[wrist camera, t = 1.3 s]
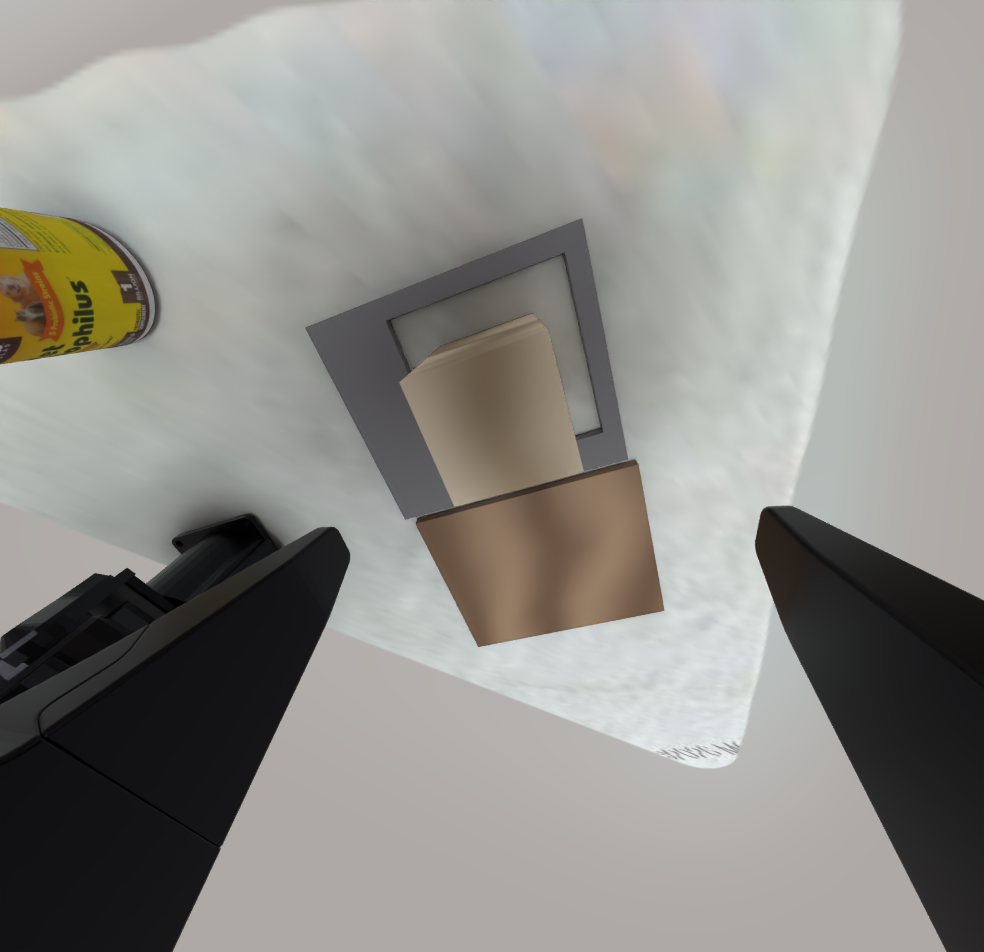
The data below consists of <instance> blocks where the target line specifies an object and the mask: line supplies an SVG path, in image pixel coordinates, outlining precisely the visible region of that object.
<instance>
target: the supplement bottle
mask: <svg viewBox="0 0 984 952" xmlns="http://www.w3.org/2000/svg"><path fill="white" fill-rule="evenodd" d="M154 315H155V302H154V296H153V292H152V289H151V286H150V284H149V281H148V279H147V277H146V275H145V273H144V271H143V270H142V268H141V267H140V265H139V264H138V262H137V261H136V260H135V258H134V257H133V256H132V255H131V254H130V253H129V252H128V251H127V250H126V249H125V248H124V247H123V246H122V245H121V244H120V243H119V242H118V241H117V240H115V239H114V238H113V237H111V236H110V235H108V234H107V233H105V232H103V231H102V230H100V229H98V228H96V227H94V226H92V225H90V224H87V223H84V222H81V221H78V220H74V219H70V218H64V217H57V216H50V215H45V214H38V213H32V212H26V211H19V210H13V209H7V208H0V364H6V363H13V362H19V361H26V360H34V359H40V358H46V357H53V356H59V355H66V354H72V353H79V352H85V351H92V350H98V349H105V348H113V347H118V346H123V345H128V344H131V343H134V342H136V341H138V340H140V339H141V338H142V337H144V336H145V335H146V334H147V332H148V331H149V329H150V328H151V326H152V323H153V320H154Z"/></svg>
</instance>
